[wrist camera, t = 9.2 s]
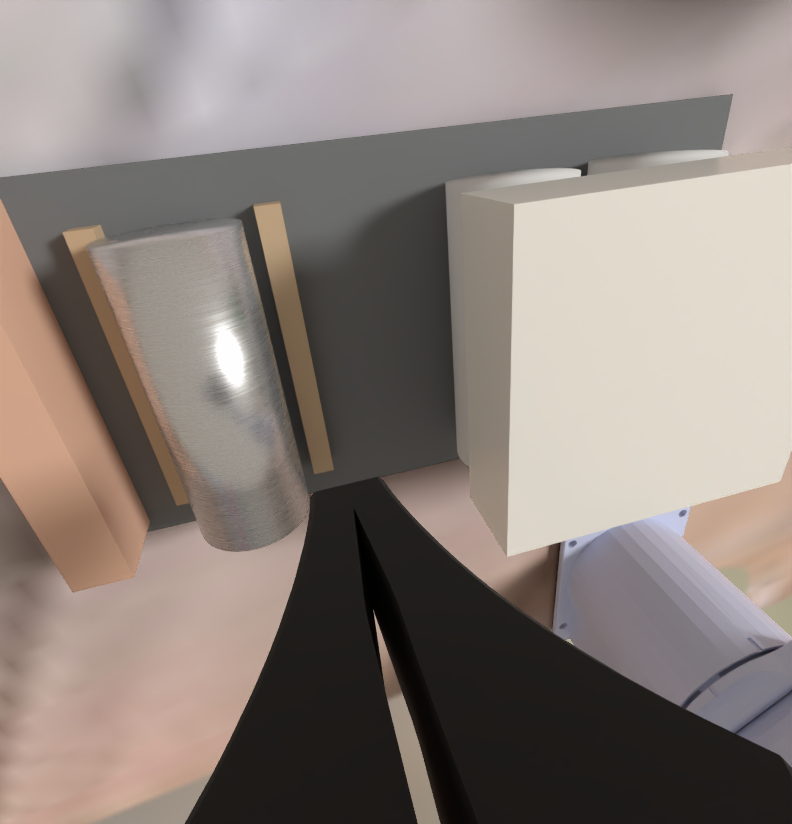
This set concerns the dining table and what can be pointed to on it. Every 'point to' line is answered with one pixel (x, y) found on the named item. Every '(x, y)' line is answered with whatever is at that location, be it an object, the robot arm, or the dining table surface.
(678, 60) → the dining table surface
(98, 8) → the dining table surface
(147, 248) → the roller
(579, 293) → the slab
